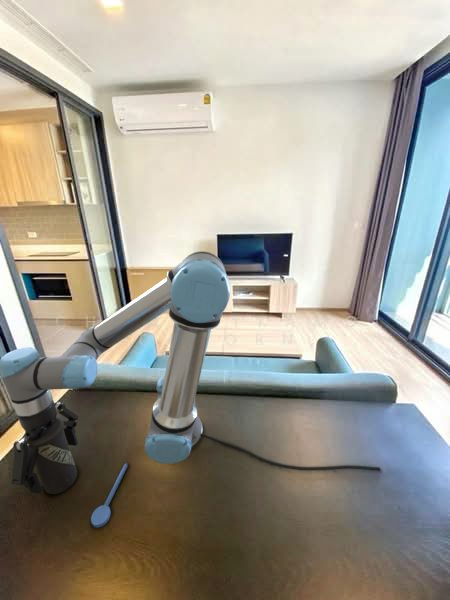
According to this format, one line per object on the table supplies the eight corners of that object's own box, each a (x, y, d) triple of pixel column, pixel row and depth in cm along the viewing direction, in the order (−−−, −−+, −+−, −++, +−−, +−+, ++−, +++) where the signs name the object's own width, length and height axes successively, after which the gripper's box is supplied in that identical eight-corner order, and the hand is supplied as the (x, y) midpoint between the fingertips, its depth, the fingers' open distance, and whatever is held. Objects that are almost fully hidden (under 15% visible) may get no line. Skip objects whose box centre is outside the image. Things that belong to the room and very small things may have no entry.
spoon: (120, 464, 76) (119, 461, 76) (134, 466, 76) (133, 463, 75) (87, 526, 61) (86, 523, 61) (104, 528, 61) (103, 525, 60)
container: (62, 499, 67) (42, 444, 60) (34, 492, 69) (12, 438, 62) (85, 468, 75) (70, 417, 68) (60, 462, 77) (42, 412, 70)
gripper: (58, 374, 75) (74, 427, 82) (-31, 450, 51) (2, 515, 59) (81, 376, 74) (95, 429, 81) (1, 453, 51) (31, 519, 58)
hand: (56, 465), depth 70 cm, fingers open, 13 cm apart
